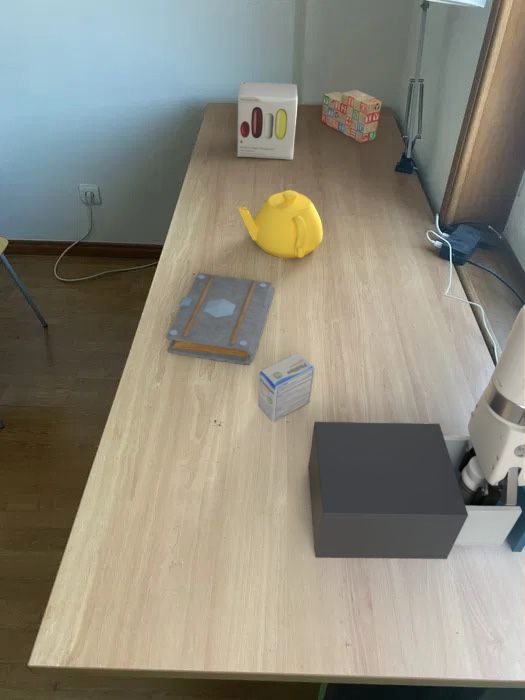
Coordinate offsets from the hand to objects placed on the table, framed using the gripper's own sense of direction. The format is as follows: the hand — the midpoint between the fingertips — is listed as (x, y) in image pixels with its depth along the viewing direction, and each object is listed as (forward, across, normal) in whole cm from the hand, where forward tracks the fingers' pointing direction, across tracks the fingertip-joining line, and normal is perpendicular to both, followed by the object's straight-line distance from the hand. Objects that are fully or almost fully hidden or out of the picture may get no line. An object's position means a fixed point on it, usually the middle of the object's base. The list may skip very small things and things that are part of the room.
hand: (475, 487), depth 77 cm
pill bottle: (+4, 0, 0) cm, 4 cm away
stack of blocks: (+6, +146, 0) cm, 146 cm away
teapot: (+6, +71, +24) cm, 75 cm away
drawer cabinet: (+6, 0, +13) cm, 14 cm away
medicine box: (+6, +20, +25) cm, 33 cm away
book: (+6, +41, +36) cm, 55 cm away
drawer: (+5, 0, 0) cm, 5 cm away
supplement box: (+6, +127, +27) cm, 130 cm away
